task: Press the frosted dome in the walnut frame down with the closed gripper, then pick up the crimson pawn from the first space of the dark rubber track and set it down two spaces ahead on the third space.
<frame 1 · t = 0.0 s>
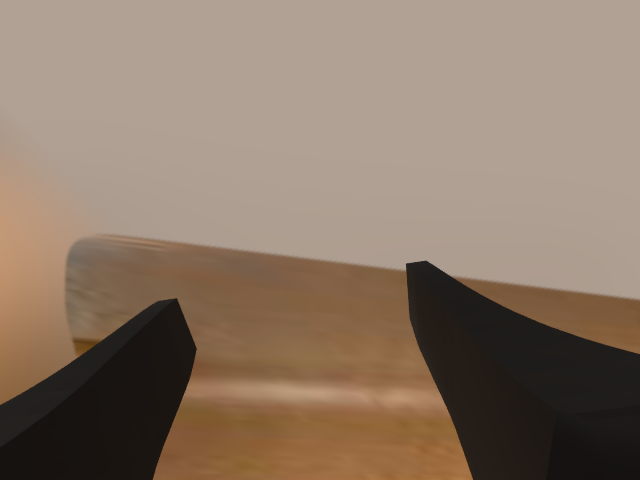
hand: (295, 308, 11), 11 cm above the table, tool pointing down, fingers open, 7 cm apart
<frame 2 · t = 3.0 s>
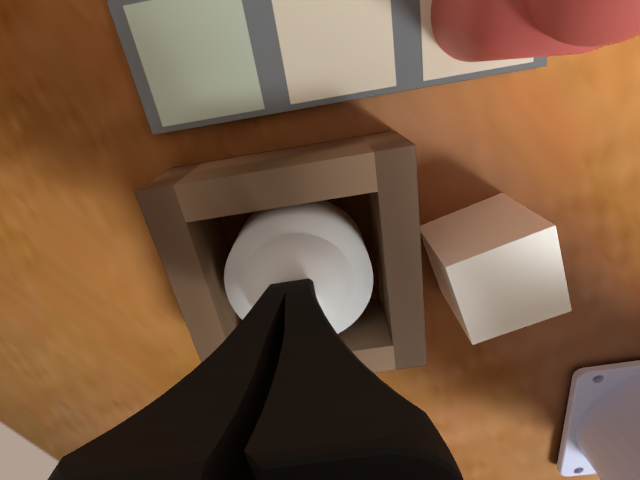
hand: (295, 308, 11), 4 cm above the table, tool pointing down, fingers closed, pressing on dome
pawn: (479, 8, 11), resting on track
dome: (299, 276, 13), point 2 cm above the table, slide at 0.9 cm, touching gripper
dome housing: (301, 250, 15), on the table
track: (334, 36, 12), on the table
white cube: (469, 244, 15), on the table
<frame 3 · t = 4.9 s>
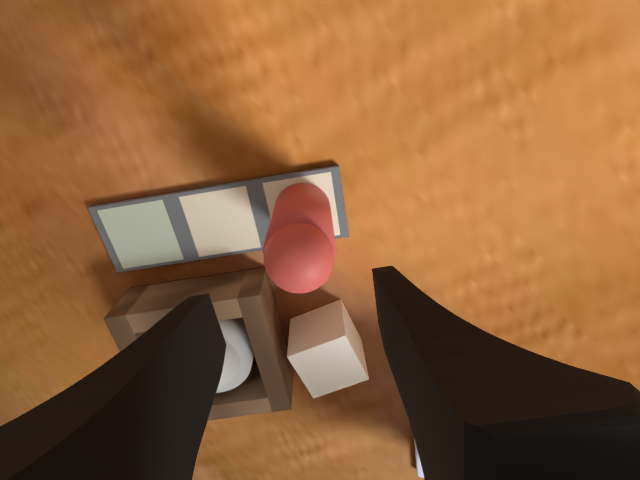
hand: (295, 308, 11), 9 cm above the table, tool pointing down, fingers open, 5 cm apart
pawn: (302, 209, 19), resting on track
dome: (209, 354, 21), point 2 cm above the table, slide at 1.0 cm
dome housing: (217, 333, 23), on the table
track: (223, 220, 20), on the table
white cube: (326, 328, 23), on the table
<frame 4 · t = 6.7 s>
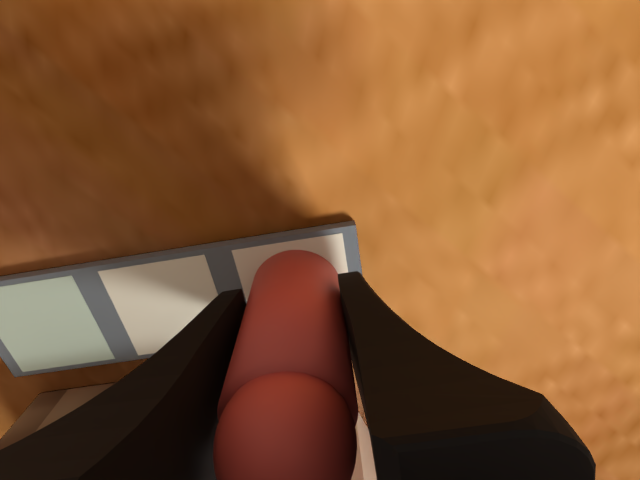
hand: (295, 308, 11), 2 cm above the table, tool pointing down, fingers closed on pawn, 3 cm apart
pawn: (297, 289, 12), resting on track, touching gripper
dome housing: (174, 448, 16), on the table
track: (173, 301, 13), on the table
white cube: (332, 440, 16), on the table
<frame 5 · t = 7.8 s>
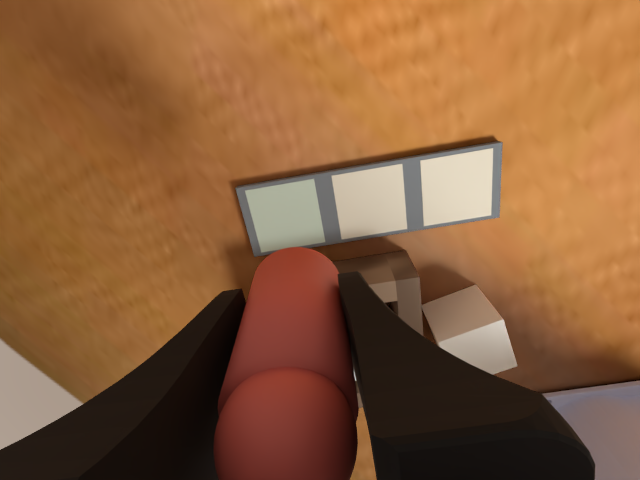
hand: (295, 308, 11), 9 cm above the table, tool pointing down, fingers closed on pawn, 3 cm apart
pawn: (297, 286, 12), point 8 cm above the table, touching gripper
dome: (345, 341, 21), point 2 cm above the table, slide at 1.0 cm
dome housing: (343, 320, 23), on the table
track: (369, 200, 19), on the table
white cube: (455, 315, 23), on the table
when the fingers open (2 cm above the table, at t = 9.4 s): pawn stays where it is, resting on track.
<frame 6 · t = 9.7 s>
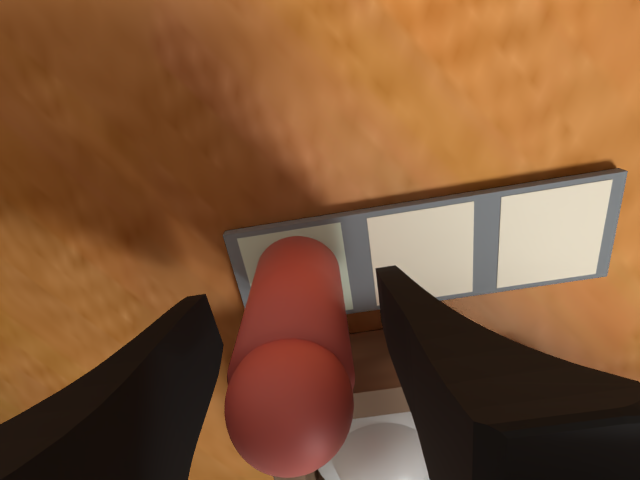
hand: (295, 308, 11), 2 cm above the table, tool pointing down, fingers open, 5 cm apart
pawn: (298, 273, 13), resting on track
dome: (379, 445, 15), point 2 cm above the table, slide at 1.0 cm
dome housing: (372, 405, 16), on the table
track: (419, 251, 13), on the table
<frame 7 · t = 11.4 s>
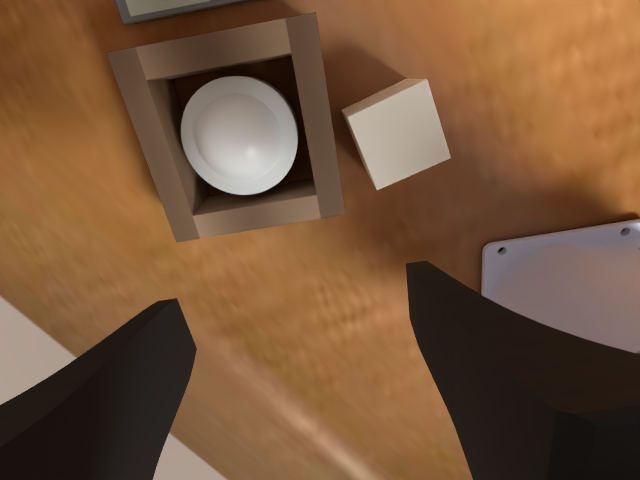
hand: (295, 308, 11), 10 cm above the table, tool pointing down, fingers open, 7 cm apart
dome: (241, 137, 17), point 2 cm above the table, slide at 1.0 cm
dome housing: (248, 131, 19), on the table
white cube: (385, 127, 19), on the table
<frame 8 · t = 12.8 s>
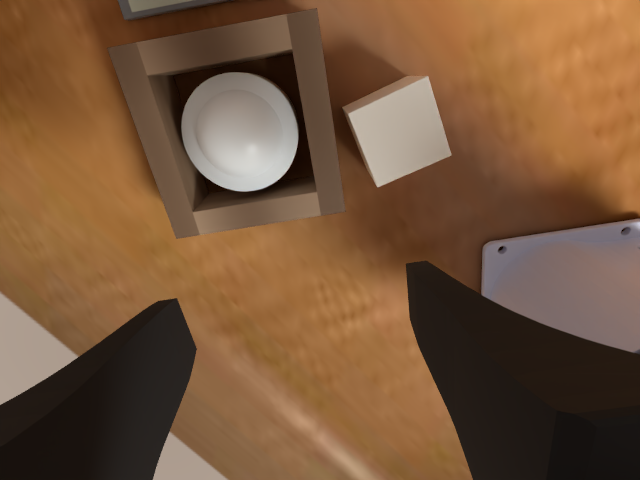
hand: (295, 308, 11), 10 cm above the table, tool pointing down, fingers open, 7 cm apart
dome: (242, 134, 17), point 2 cm above the table, slide at 1.0 cm
dome housing: (248, 128, 19), on the table
white cube: (386, 124, 19), on the table
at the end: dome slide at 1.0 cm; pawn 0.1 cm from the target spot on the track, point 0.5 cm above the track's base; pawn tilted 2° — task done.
